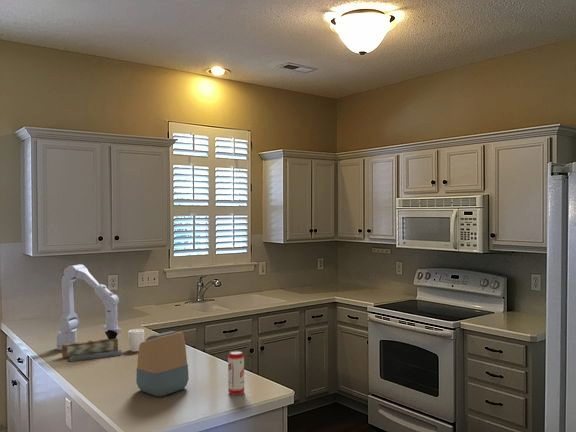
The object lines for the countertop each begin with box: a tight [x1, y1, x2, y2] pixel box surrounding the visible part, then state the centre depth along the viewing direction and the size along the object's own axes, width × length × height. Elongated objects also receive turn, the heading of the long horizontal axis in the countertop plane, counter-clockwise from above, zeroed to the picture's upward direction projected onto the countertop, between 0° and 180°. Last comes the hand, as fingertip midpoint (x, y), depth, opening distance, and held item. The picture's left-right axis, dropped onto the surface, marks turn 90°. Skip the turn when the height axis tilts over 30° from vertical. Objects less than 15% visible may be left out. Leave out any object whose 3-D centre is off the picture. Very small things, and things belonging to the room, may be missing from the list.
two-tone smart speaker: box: [135, 330, 189, 398], centre depth 210 cm, size 17×17×23 cm
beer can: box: [227, 350, 245, 396], centre depth 206 cm, size 6×6×16 cm
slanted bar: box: [68, 349, 123, 362], centre depth 257 cm, size 24×3×2 cm, turn 114°
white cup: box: [127, 328, 145, 352], centre depth 270 cm, size 8×8×10 cm
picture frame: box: [61, 337, 119, 359], centre depth 263 cm, size 26×3×6 cm, turn 116°
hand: (112, 344), depth 270 cm, fingers closed
